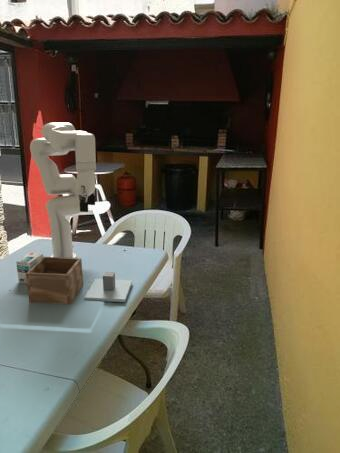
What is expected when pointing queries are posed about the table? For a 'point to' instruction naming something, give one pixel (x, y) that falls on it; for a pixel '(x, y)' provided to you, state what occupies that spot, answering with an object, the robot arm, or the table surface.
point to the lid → (109, 289)
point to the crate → (55, 280)
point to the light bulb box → (27, 265)
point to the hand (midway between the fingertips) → (87, 208)
